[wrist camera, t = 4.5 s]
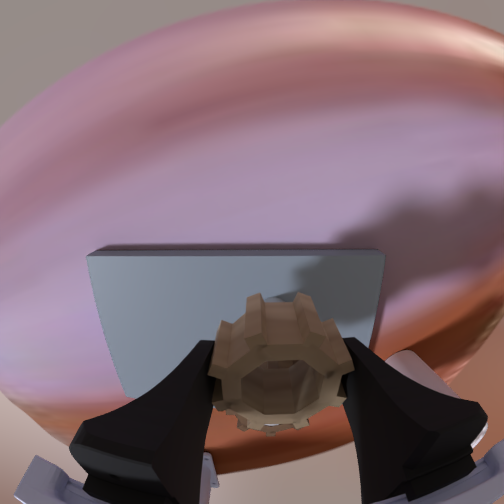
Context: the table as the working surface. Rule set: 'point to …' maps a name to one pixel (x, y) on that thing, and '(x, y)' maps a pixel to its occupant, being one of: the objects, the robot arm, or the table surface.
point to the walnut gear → (266, 428)
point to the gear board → (218, 298)
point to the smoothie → (424, 377)
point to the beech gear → (278, 349)
